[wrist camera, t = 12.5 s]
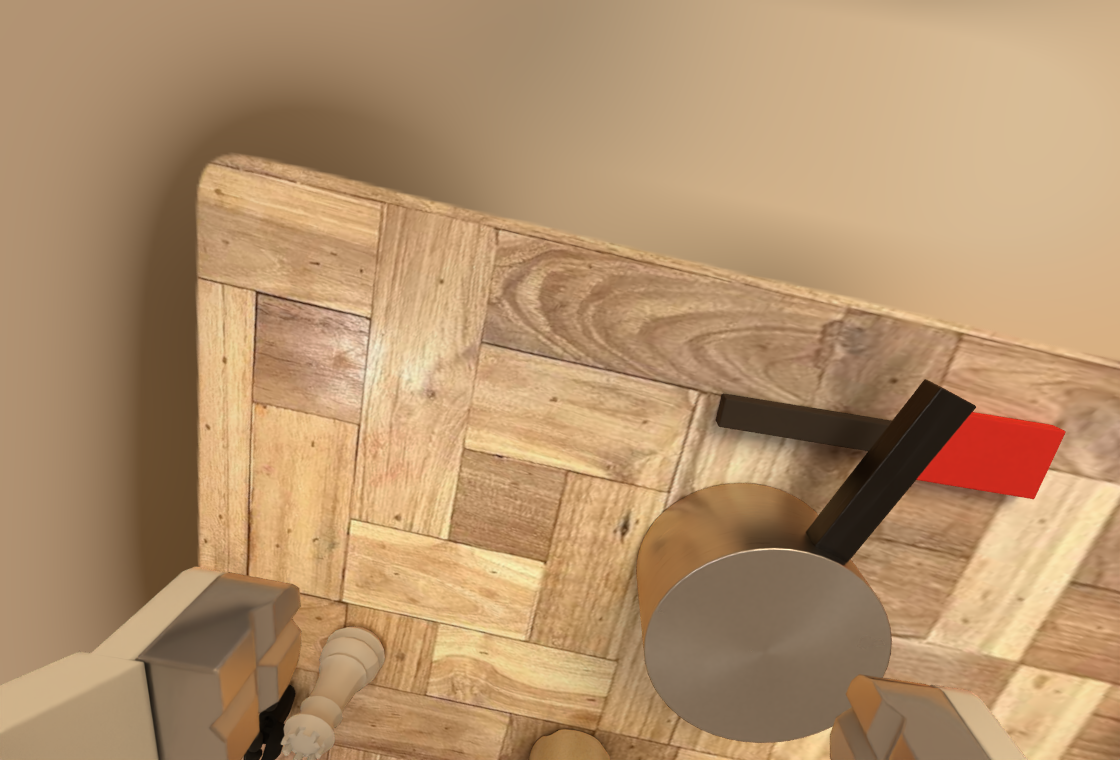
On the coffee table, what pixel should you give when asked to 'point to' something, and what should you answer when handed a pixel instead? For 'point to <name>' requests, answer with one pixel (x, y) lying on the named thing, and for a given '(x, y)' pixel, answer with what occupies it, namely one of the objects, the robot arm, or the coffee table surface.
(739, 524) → the saucepan
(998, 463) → the spatula
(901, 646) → the coffee table surface
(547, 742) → the flower pot
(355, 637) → the rook chess piece
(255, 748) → the wireless earbuds
